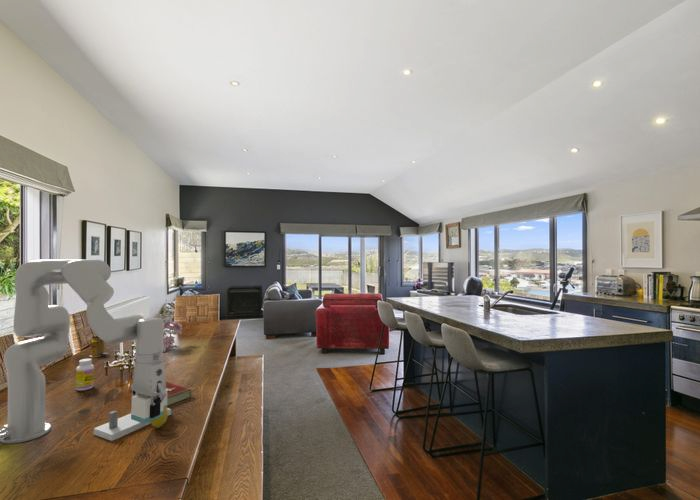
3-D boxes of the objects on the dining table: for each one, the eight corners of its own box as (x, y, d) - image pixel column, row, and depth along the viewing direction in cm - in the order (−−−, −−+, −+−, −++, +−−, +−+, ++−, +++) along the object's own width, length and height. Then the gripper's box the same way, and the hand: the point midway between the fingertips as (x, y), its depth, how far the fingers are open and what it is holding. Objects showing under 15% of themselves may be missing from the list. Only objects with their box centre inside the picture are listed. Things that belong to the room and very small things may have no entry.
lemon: (163, 422, 131) (163, 400, 131) (170, 427, 128) (170, 404, 128) (146, 428, 127) (147, 405, 127) (153, 433, 123) (153, 409, 123)
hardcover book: (161, 388, 166) (161, 379, 166) (191, 397, 155) (191, 387, 155) (134, 397, 155) (135, 387, 155) (164, 408, 145) (164, 397, 145)
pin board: (111, 441, 118) (112, 419, 118) (93, 434, 122) (93, 413, 123) (171, 414, 138) (171, 395, 138) (153, 409, 142) (153, 391, 142)
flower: (194, 346, 233) (188, 309, 241) (161, 350, 214) (155, 310, 222) (176, 355, 242) (170, 320, 250) (142, 360, 223) (137, 321, 231)
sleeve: (144, 423, 111) (145, 400, 111) (131, 419, 113) (131, 396, 114) (163, 415, 117) (164, 393, 117) (150, 411, 119) (151, 389, 119)
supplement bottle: (84, 391, 160) (84, 362, 160) (71, 390, 161) (72, 361, 161) (97, 386, 167) (97, 358, 167) (85, 385, 168) (85, 357, 168)
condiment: (87, 356, 215) (87, 336, 215) (101, 352, 223) (101, 333, 223) (96, 357, 212) (96, 337, 212) (110, 353, 220) (110, 334, 220)
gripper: (178, 358, 115) (176, 415, 115) (142, 350, 122) (140, 404, 122) (156, 364, 108) (154, 425, 108) (120, 356, 115) (118, 412, 115)
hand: (147, 413), depth 115 cm, fingers closed on sleeve, 6 cm apart
